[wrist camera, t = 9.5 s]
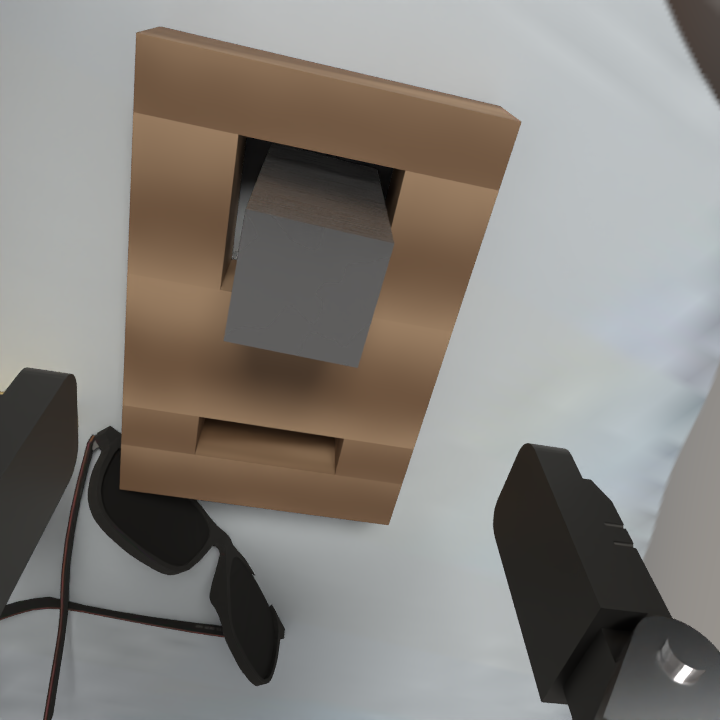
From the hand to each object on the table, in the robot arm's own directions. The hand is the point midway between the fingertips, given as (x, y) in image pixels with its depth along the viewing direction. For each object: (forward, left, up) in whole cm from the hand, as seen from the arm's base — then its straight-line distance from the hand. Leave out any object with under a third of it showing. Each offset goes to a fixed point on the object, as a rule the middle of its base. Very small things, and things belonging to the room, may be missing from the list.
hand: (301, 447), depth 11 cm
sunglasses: (+22, -7, -16) cm, 28 cm away
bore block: (+4, 0, -15) cm, 16 cm away
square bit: (0, 0, -15) cm, 15 cm away
